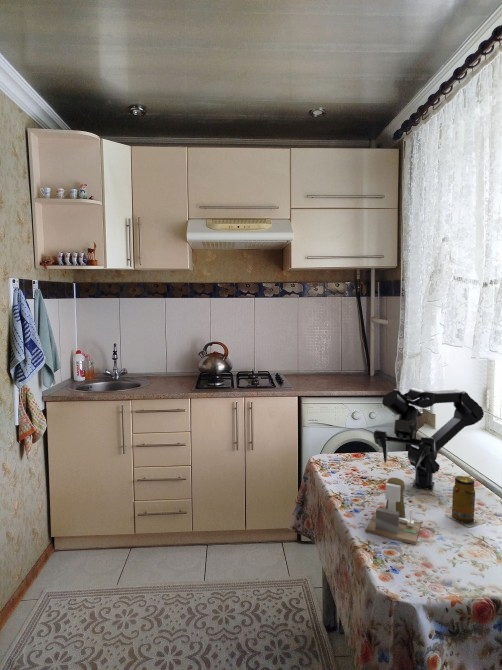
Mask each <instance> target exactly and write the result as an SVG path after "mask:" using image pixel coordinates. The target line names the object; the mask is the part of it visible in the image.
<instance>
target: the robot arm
mask: <svg viewBox="0 0 502 670" xmlns="http://www.w3.org/2000/svg"><path fill="white" fill-rule="evenodd" d="M381 403H382V405H383V406H384V407H385V408H386V409H387V410H389V411H390V412H391V413H393V414H394V415H396V416H398V419H395V420H394V425H393V427H394V428H393V430H394V431H393V434H395V435H389V434H388V431H387V430H384V429H383V430H382V429H375V430H374V432H373V436H372V437H373V439H374V443H375V445H378V447H379V448H382V454H383V461H384V464H387V460H388V452H389V446H388V444H389V442H391V443H398V444H405V445H409V446H410V448H409V449H408V451H407V458H408V461H409V463H410V466H414V469H415V471H414V480H413V483H412V487H413V488H419V489H424V490H429V491H433V490H434V486H435V482H434V481H433V477H434V475H433V474H436V473H438V472H439V470H440V468H441V467H440V466H441V465H440V464H439V463H438V462H437V461H436V460H437V458H438V453H439V451H440V450H442V448H443V447H444V446H445V445H446V444H448V443H449V442H450V441H451V440H452V439H453V438H454V437H456V436H457V435H458V434H459V433H460V432H461V431H462V430H463V429H464V428H466V427H469V426H474V425H475V424H477V423H479V422H480V421H482V420H483V418H484V410H483V407H482V406H480V405H479V402H477V401H475V399H473V398H472V397H471V396H470V394H469V393H468V392H466V391H464V390H459V389H448V390H427V389H420V388H416V387H411V388H410V389H408V391H407V392H404V393H401V391H400V390H398V389H395V388H394V389H393V390H392V391H391V392H388V393H387V394H385V395H384V396H383V398H382V402H381ZM448 403H450V404H451V403H453V406H454V408H455V410H454V412H453V416H452V418H450V419H449V420H448V421H447V422H446V423H445V424H444V425H442V426H441V428H439V429H438V430H437V431H436V432H435V433H434V434H433V435H431V436H425V435H421V436H420V439H417V438H415V433H416V432H417V431H418V430H419V429H418V428H419V420H418V417H422V412H421V411H420V410H419V408H421V409H427V408H429V407H433V406H434V405H435V404H448ZM415 406H416V407H418V408H416V407H415Z"/></svg>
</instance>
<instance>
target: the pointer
mask: <svg viewBox="0 0 502 670" xmlns="http://www.w3.org/2000/svg"><path fill="white" fill-rule="evenodd" d="M412 511H413V509H409V520H410V521H408V522H407V526H411V527H413V526H414V522H415V521H414V522H412V521H411V520H412V514H413V512H412Z"/></svg>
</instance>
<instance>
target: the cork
mask: <svg viewBox="0 0 502 670" xmlns="http://www.w3.org/2000/svg"><path fill="white" fill-rule="evenodd" d="M386 483H389V484H394V485H400V486H401V488H400V502H396V512H399V517H400V518H404V519H405V517H406V510H405V509H406V508H405V500H404V490H405V488H406V484H405V482H404V480H403V479H401V478H399V477H391V478H389V479H387V482H386ZM384 509H387V510H388V500H387V499H386V503H385V508H384Z"/></svg>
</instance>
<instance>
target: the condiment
mask: <svg viewBox="0 0 502 670" xmlns="http://www.w3.org/2000/svg"><path fill="white" fill-rule="evenodd" d="M451 503H452V504H451V512H450V513H445V514H444V515H445V516H446V517H448V518H451V519H452V520H454V521H456V522H458V523H460V524H462V525H463V526H466V527H468V528H471V527H472V528H473V527H476V526H479V525H482V524H485V523H486V521H484V520H482V519H481V518H478V517H477V516H475V506H476V505H475V503H476V489H475V480H474V479H473V478H471V477H470V476H464V475H457V476H455V478H454V485H453V487H452V501H451Z"/></svg>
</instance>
